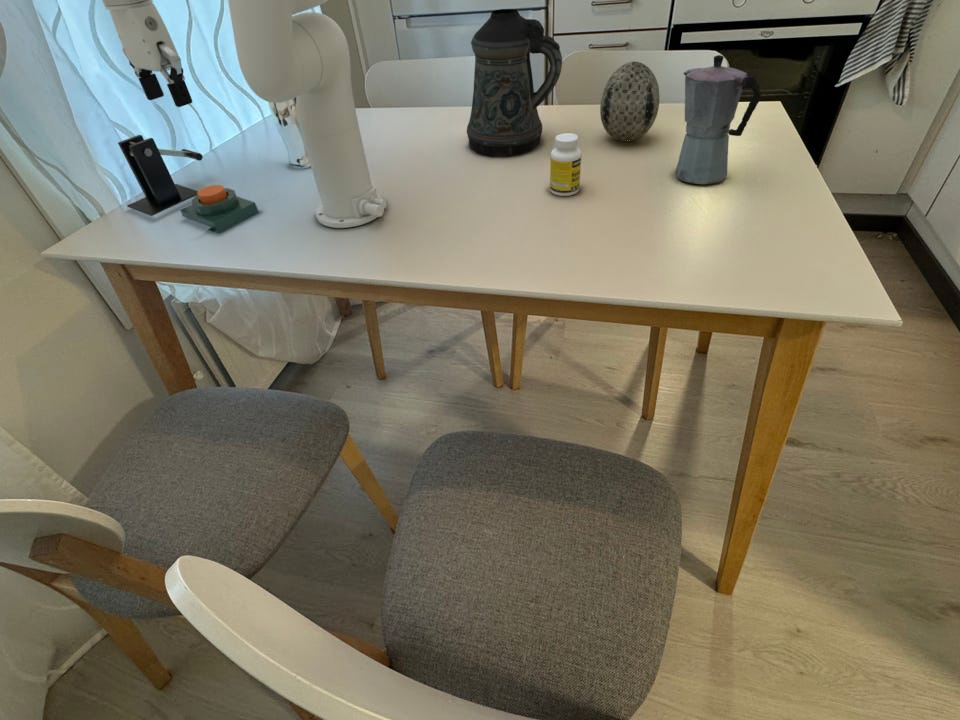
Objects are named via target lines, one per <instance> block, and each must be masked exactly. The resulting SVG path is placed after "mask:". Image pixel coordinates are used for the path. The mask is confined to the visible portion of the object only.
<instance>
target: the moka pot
mask: <svg viewBox="0 0 960 720" xmlns="http://www.w3.org/2000/svg"><path fill="white" fill-rule="evenodd" d="M724 58H725V56H724V55H721V54H718V55H715V56H713V66H707V67H697V68H696V67H695V68H690V69H686V71H684V72H683V75H684V76H685V77H684V122H685V123H686V125H685V134H684V138H683V140H682V145H681V149H680V153H679V157H678V161H677V164H676V168H675V177H676V178H677V179H678V180H679V181H681V182H685V183H688V184H693V185H694V184H695V185H707V184H716V183H719V182H722V181H724V180H725V179H726V178H727V175H728V162H729V159H728V157H729V143H730V141H729V140H730V136H733V137H734V136H735V137H741V136H742V135H743V132H744V131H745V128H746V127H747V125H748V122H749V121H750V118H751V117H752V115H753V112H754V111H755V109H756V107H757V106H758V104H759V102H760V99H761V96H762V91H761V89H760V87H761V86H760V85H759V84H758V83H757V79H756V75H748V74H747V73H748V72H745V71H743V70H741V69H737V68H735V67H729V66H722V64H723V61H724ZM746 89H751V91H752V92H753V95H752V97H751V99H750V101H749V103H748V106H747V108H746V109H745V112H744V113H743V116H742V119H741V122H740V123H739V124H738V126H737V128H736V129H733V128H730V127H731V123H732V122H733V120H734V118H735V115H736V112H737V108H738V106H739V102H740V99H741V96H742V93H743V90H746Z"/></svg>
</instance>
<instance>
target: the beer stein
mask: <svg viewBox="0 0 960 720" xmlns="http://www.w3.org/2000/svg"><path fill="white" fill-rule="evenodd" d="M470 44H471V49H472V52H473V53H474V73H473V74H474V75H473V91H472V102H471V109H470V116H469V120H468V123H467V126H466V134H467V139H468V147H469V148H468V149H470V150H471V151H473V152H474V153H476V154H477V155H480V156H485V157H490V158H510V157H515V156H517V157H518V156H521V155H524V154H527V153H530V152H532V151H534V150H536V148H538V147H539V146H540V142H541V138H542V134H543V123H542V120H541V118H540V115H539V111H538V107H539V106H540V105H541V104H542V103H543V102H545V100H546V99H547V97H548V96H549V95H550V94H551V92H552V91H553V90H554V88H555V87H556V85H557V83H558V81H559V78H560V76H561V72H562V68H563V54H562V52H561V47H560V44H559V43H558V42H557V41H556V40H555V39H554V38H553V37H552V36H549V35H545V28H544V26H543V25H542V23H541V22H540V21H539V20H537V19H534V18H533V19H532V18H525V17H523V16H522V15H521V14H520V13H519V11H518V9H513V8H501V9H495V10H492V11H491V13H490V17H489V18H488V19H487V20H486V21H485V22H484V23H483V24H482V26H481V27H480V28H479V29H478V30H477V31H476V32H475V33H474V35H473V37H472V39H471V41H470ZM531 54H532V55H533V54H535V55H536V54H542V55H543V56H546V58H547V60H548V63H549V70H548V72H547V75H546V77H545V79H544V81H543V83H542V84H541V86H539V88H538V89H537V90H536V91H535V89H534V77H533V71H532V63H531Z"/></svg>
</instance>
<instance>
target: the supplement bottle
mask: <svg viewBox="0 0 960 720" xmlns="http://www.w3.org/2000/svg"><path fill="white" fill-rule="evenodd" d="M554 146H555V147H554V148H553V149H552V150H551V152H550V167H549V168H550V169H549V170H550V173H549V190H550V193H552V194H553V195H555V196H560V197H569V196H574V195H575V194H577V193H578V192H579V190H580V185H581V184H580V183H581V170H582V169H581V168H582V166H581V165H582V150H581V149H580V148H579V147H578V146H579V136H578V135H577V134H576V133H570V132H569V133H568V132H565V133H559V134H557V135H556V136H555V138H554Z"/></svg>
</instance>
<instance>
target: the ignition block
mask: <svg viewBox="0 0 960 720" xmlns="http://www.w3.org/2000/svg"><path fill="white" fill-rule="evenodd" d="M224 188H225V191H226V193H227V197H226V199H224V200H222V201H220V202H216V203H212V204H202V203H201V201H200V199H199V197H198V195H196V196H194V198H193V199H191V204H190V205H187V206H186V207H184V208H181V209H180V213H181V215H182V217H184V218H186V219H189V220H191V221H195V222H197V223H199V224H202V225H204V226H207V227H210V228H208V229H207V230H208V231H210V232H213V233H215V234H218V235H220V234H221V233H223V232H226V231H227V230H229V229H230V228H233V227H235V226H237V225H239V224H240V223H242V222H244V221H246V220H248V219H250V218H252V217H254V216H255V215H258V214H259V209H258V207H257V205H256V202H255V201H252V200H249V199H246V198H243V197H240V196H237V194H236V191H235V189H231V188H228V187H224Z"/></svg>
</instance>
